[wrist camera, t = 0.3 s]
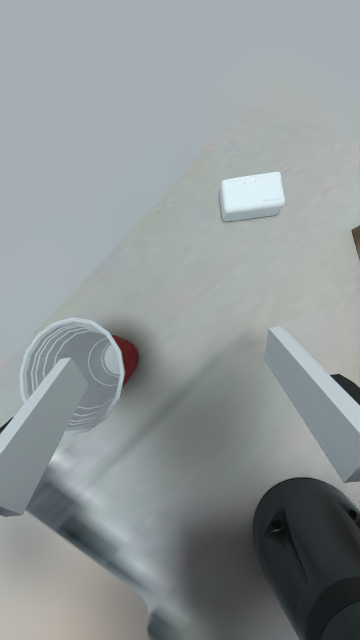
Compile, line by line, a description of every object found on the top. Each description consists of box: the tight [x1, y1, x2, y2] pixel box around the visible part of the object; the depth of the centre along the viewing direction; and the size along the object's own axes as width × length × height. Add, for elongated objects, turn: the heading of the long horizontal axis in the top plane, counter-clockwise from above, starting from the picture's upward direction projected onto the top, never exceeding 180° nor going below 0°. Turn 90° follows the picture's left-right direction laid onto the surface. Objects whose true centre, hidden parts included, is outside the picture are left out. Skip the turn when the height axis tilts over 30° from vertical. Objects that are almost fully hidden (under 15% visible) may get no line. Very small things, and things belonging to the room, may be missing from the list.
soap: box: [219, 172, 285, 222], centre depth 27 cm, size 9×6×3 cm, turn 95°
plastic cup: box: [19, 317, 138, 436], centre depth 22 cm, size 11×11×12 cm
